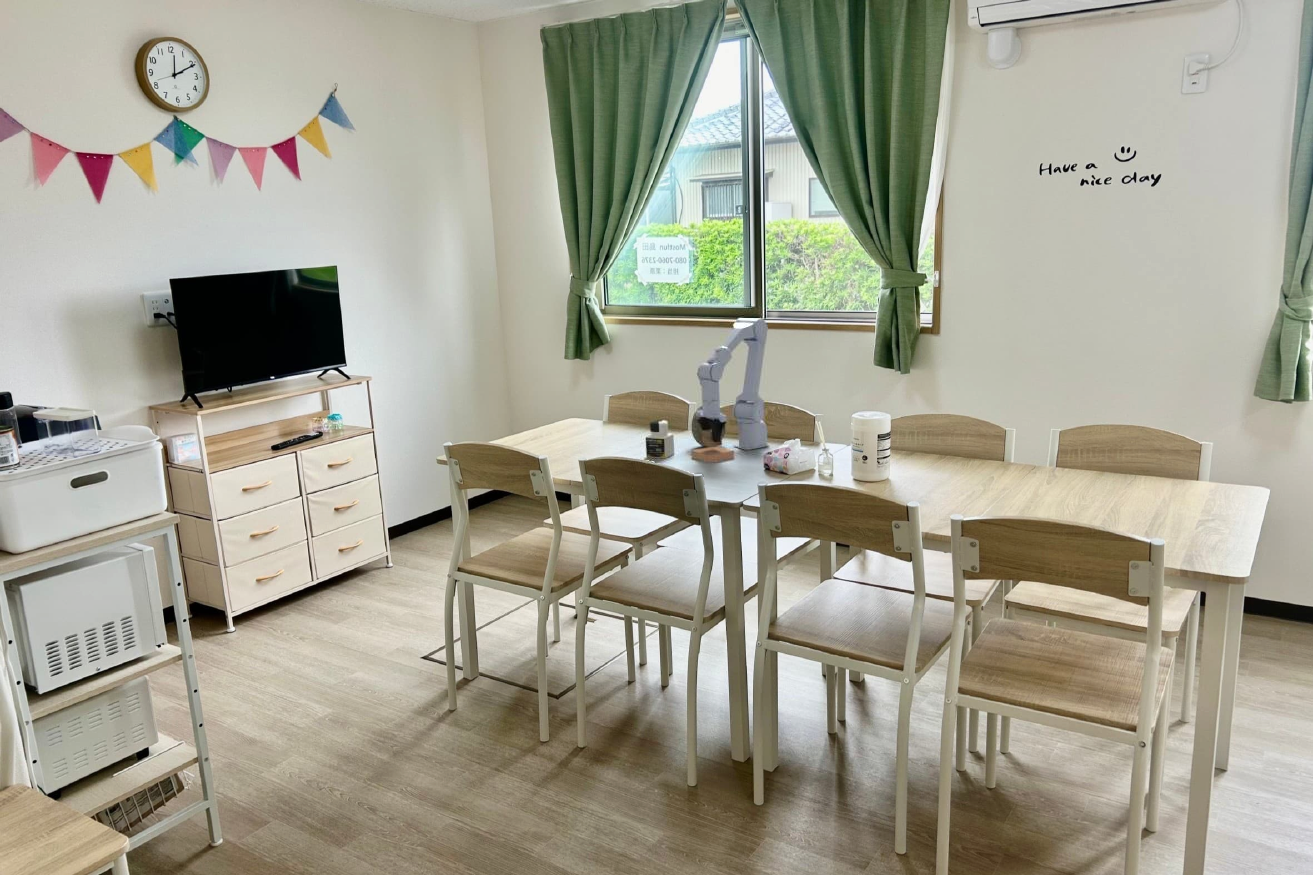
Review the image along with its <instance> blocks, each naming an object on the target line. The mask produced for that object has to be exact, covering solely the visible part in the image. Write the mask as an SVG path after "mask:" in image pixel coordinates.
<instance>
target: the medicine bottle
mask: <svg viewBox="0 0 1313 875" xmlns="http://www.w3.org/2000/svg"><path fill="white" fill-rule="evenodd" d="M649 430H650V431H649V432H650V434H648V435H647V436H645V452H646V453H645V454H646V458H651V459H652V458H653V459H664V460H665V459H668V458H669V457H671V456H673V455H675V442H674V441H675V439H674V433H669V423H668V421H667V420H664V419H657V420H656V419H655V420H652V421H651V422H649Z"/></svg>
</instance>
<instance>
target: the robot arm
mask: <svg viewBox="0 0 1313 875" xmlns="http://www.w3.org/2000/svg"><path fill="white" fill-rule="evenodd" d="M768 327H769V326H768V325H767V323H766V321H765V319H763V318H761V317H760V318H745V317H739V318H737V319H736V321H735V322H734V323H733V326H732V329H733V330H732V331H731V333H730V335H729V336H728V338H727V339H726V341H725V343H723V346H718V347H716V348H715V349H714V352H713V353H712V354H711V355H710V357H708V360H706V362H704V363H701V365H699V366H698V368H697V372H696V375H697V378H698V380H699V385H700V386H701V406H702V410H698V411H695V412H696V415H697V417H701V418H700V419H697V422H698V423H699V425H700V427H701V429H702V430H706V429H712V435H713V441H714V442H720V438H721V434H722V430H723V428H724V426H725V427H726V423H727V421H728V417H727V415H726V414H724V413H723V412H721V406H720V405H721V403H720V401H721V400H720V380H721V379H722V378H723V372H724V371H725V367H726V366H727V365H728V363H729V362H730V361H731V360H732V358H733V356H732V353H733V351H734V350H735V349H736V348H738V346H739V345H740V344H741V343H742V342H744V343H745V344H746V345H747V347H748V351H747V357H746V364H745V372H744V378H743V379H744V381H743V385H742V386H743V387H742V392H741V393H740V394H738V396H736V398H735V403H734V405H733V407H732V415H733V418H734V419H736V422H738V423H737V424H738V429H737V430H738V444H733V447H735V448H738V449H742V450H746V451H750V450H754V449H759V448H764V447H765V446H766V447H769V446H770V445H769V444H768V427H767V424H766V422H765V421H764V420H763V419H764V417H765V407H764V406H765V404H764V403H765V401H764V398H762V397H761V396H760V395H759V392H760V383H761V376H762V369H763V362H764V361H763V360H764V355H765V348H766V342H767V336H768V330H769V328H768ZM720 412H721V413H720ZM713 420H714V421H713ZM766 447H765V448H766Z"/></svg>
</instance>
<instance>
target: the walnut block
mask: <svg viewBox="0 0 1313 875" xmlns="http://www.w3.org/2000/svg"><path fill="white" fill-rule="evenodd" d="M702 445H704V446H708V447H714V446H718V447H721V446H722V445H723V439H722V434H721V438H720V442H714V441H713V435H712V429H706V430H702ZM702 445H701V446H702ZM704 446H703V447H704ZM708 447H707V448H708Z"/></svg>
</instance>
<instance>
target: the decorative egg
mask: <svg viewBox="0 0 1313 875" xmlns="http://www.w3.org/2000/svg"><path fill="white" fill-rule="evenodd" d="M698 410H702V405H701V406H700V407H698V408H697V409H696V411H698ZM696 411H694V414H693V416H692V420H691V425H690V426H691V434H692V438H694V441H695V442H696V443H697V444H698V445H700V446H701V447H703V448H708V446H704V445H702V429H701V427H700V425H699V423H698V422H697V419H700V418H701V417H697V415H696ZM720 413H722V412H721V411H720ZM713 421H714V420H713ZM725 434H726V425H725V426H724V428H723V430H722V440H723V439H724V436H725Z"/></svg>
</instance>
